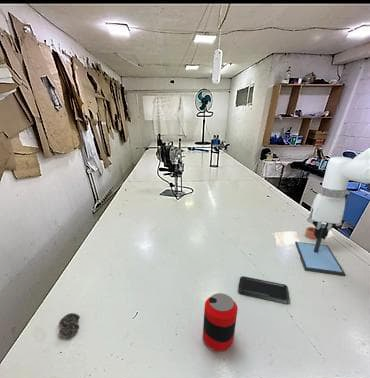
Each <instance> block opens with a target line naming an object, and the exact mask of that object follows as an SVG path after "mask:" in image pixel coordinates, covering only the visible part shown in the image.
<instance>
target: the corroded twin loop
mask: <svg viewBox="0 0 370 378" xmlns="http://www.w3.org/2000/svg"><path fill="white" fill-rule="evenodd" d="M80 318H81V316H80V315H79V314H77V313H74V312H73V313H71V312H70V313H67V314H65V315H63V317H62V318H61V319H60V320H59V322H58V325H59V326H61V328H60V329H59V330H58V334H59V335H60V336H61V337H63V338H69V339H70V338H71V337H74V335H75V334H76V333H77V332H78V331H79V329H80V324H78V322H79V320H80Z"/></svg>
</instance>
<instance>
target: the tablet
mask: <svg viewBox="0 0 370 378" xmlns="http://www.w3.org/2000/svg"><path fill="white" fill-rule="evenodd" d="M294 244H295V247H296V249H297V252H298V255H299V260H300V262H301V265H302V267H303V270H304V271H305V272H311V273H319V274H326V275H333V276H341V277H345V275H346V272H345V271H344V269H343V268H342V265H341V264H340V263H339V261H338V260H337V258H336V256H335V255H334V253H333V251H332V250H331V248H330V246H329V245H325V244H320V247H319V250H318V253H316V252H314V248H315V244H316V243H309V242H300V241H295V242H294Z"/></svg>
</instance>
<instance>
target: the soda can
mask: <svg viewBox="0 0 370 378" xmlns="http://www.w3.org/2000/svg"><path fill="white" fill-rule="evenodd" d="M203 310H204V311H203V327H202V328H203V329H202V340H203V342H204V344H205V345H206V346H207V347H208V349H211V350H213V351H216V352H224V351H227V350H228V349H230V348H231V347H232V346H233V344H234V338H235V330H236V325H237V316H238V310H239V309H238V305H237V303H236V301H234V299H233V298H232V297H231V296H230V295H228V294H226V293H221V292H218V293H213V294H212V295H210V297H208V298H207V299H206V300H205V302H204V309H203Z"/></svg>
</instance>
